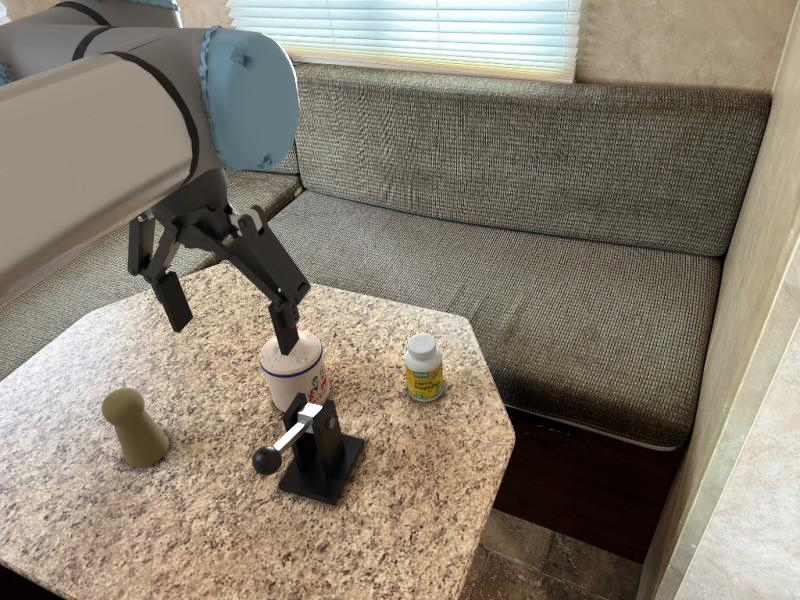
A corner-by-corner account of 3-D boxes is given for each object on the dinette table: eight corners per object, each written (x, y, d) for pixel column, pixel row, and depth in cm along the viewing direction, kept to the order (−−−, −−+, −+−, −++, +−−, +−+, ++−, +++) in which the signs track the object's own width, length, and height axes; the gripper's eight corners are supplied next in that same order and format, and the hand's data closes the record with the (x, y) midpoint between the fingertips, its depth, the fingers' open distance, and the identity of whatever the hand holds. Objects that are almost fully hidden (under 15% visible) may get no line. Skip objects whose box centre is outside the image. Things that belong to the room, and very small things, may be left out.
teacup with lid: (324, 418, 88) (310, 362, 80) (264, 415, 89) (245, 359, 82) (341, 360, 97) (330, 304, 90) (286, 357, 98) (271, 302, 91)
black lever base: (334, 506, 77) (319, 448, 69) (279, 490, 79) (259, 432, 72) (365, 444, 84) (354, 386, 76) (313, 431, 86) (297, 373, 79)
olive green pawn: (151, 471, 83) (122, 419, 76) (116, 462, 85) (84, 410, 78) (177, 437, 87) (151, 385, 80) (143, 428, 89) (115, 376, 82)
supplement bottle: (438, 373, 93) (435, 326, 87) (448, 398, 89) (445, 351, 83) (404, 380, 92) (399, 334, 86) (412, 406, 88) (407, 360, 82)
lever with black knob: (272, 484, 65) (271, 459, 64) (246, 477, 66) (245, 451, 65) (327, 427, 76) (327, 404, 75) (304, 421, 77) (304, 399, 76)
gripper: (321, 148, 51) (353, 332, 65) (92, 127, 59) (163, 296, 72) (279, 191, 46) (323, 382, 59) (32, 162, 54) (121, 337, 67)
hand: (235, 335), depth 66 cm, fingers open, 13 cm apart
